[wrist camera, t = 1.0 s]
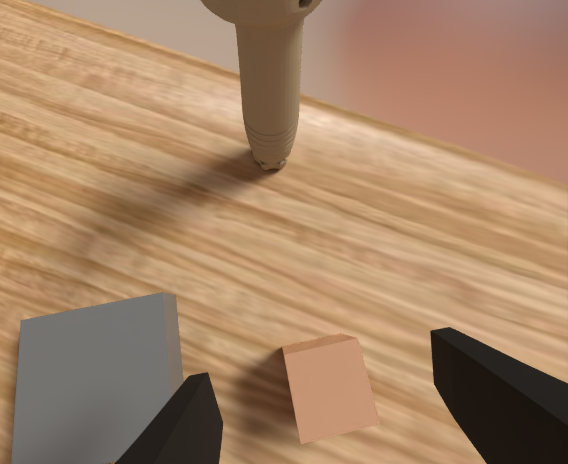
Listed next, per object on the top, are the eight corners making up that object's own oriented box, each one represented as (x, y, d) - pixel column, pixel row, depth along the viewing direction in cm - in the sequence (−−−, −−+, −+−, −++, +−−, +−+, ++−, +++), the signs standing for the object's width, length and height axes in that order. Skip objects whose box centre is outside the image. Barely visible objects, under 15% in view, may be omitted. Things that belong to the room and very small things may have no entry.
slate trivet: (189, 426, 19) (174, 446, 16) (51, 460, 18) (9, 487, 15) (177, 295, 21) (162, 292, 18) (56, 319, 21) (20, 320, 18)
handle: (227, 157, 25) (160, -66, 10) (283, 121, 26) (293, -121, 11) (259, 196, 24) (236, 11, 9) (316, 156, 25) (372, -60, 10)
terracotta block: (356, 399, 19) (380, 423, 15) (294, 415, 19) (300, 444, 15) (340, 333, 21) (357, 338, 16) (281, 346, 20) (284, 354, 16)
